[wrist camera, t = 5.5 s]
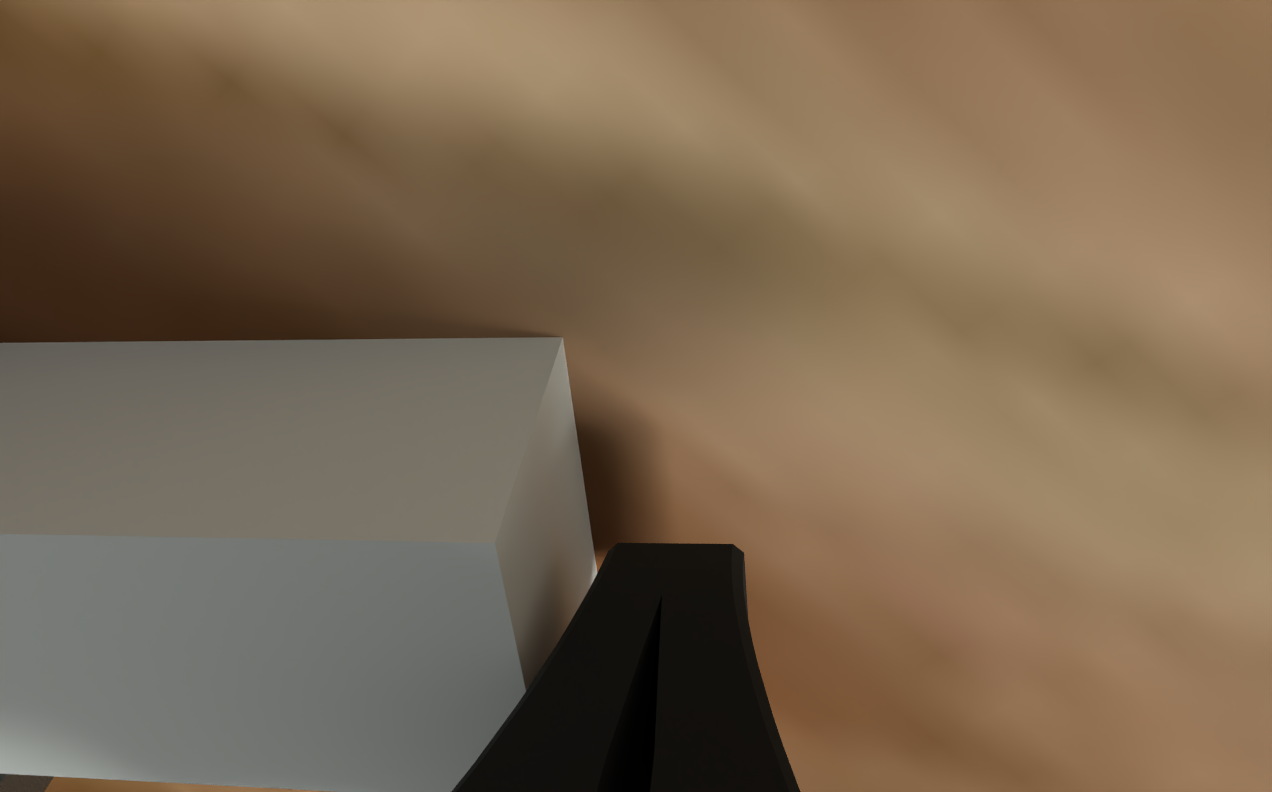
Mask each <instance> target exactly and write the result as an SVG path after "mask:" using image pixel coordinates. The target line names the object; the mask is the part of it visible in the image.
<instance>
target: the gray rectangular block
mask: <svg viewBox="0 0 1272 792" xmlns="http://www.w3.org/2000/svg"><path fill="white" fill-rule="evenodd" d="M596 575H597V568H596V561H595V555H594V548H593V541H592V534H591V527H590V520H589V514H588V507H587V500H586V493H585V486H584V479H583V472H582V466H581V459H580V452H579V445H578V438H577V431H576V425H575V418H574V411H573V404H572V397H571V390H570V384H569V377H568V370H567V363H566V356H565V349H564V343H563V337H536V338H436V339H336V340H236V341H137V342H37V343H0V774H18V775H37V776H56V777H75V778H93V779H112V780H131V781H150V782H168V783H187V784H206V785H225V786H243V787H262V788H281V789H299V790H318V791H337V792H451V791H452V790H453V789H454V788H455V786H456V785H457V784H458V783H459V781H460V780H461V779H462V778H463V776H464V775H465V774H466V773H467V771H468V770H469V769H470V768H471V766H472V765H473V764H474V762H475V761H476V760H477V759H478V757H479V756H480V754H481V753H482V752H483V750H484V749H485V748H486V746H487V745H488V744H489V742H490V741H491V739H492V738H493V737H494V735H495V734H496V733H497V731H498V730H499V729H500V727H501V726H502V725H503V723H504V722H505V720H506V719H507V718H508V716H509V715H510V714H511V712H512V711H513V710H514V708H515V707H516V705H517V704H518V703H519V701H520V700H521V698H522V697H523V695H524V694H525V692H526V691H527V689H528V688H529V686H530V685H531V683H532V682H533V680H534V679H535V677H536V675H537V674H538V672H539V671H540V669H541V668H542V666H543V665H544V663H545V662H546V660H547V659H548V657H549V655H550V654H551V652H552V651H553V649H554V648H555V646H556V645H557V643H558V642H559V640H560V638H561V637H562V635H563V633H564V632H565V630H566V628H567V627H568V625H569V623H570V622H571V620H572V618H573V616H574V615H575V613H576V611H577V610H578V608H579V606H580V604H581V603H582V601H583V599H584V597H585V596H586V594H587V592H588V590H589V588H590V586H591V585H592V583H593V581H594V579H595V577H596Z"/></svg>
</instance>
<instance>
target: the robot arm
mask: <svg viewBox="0 0 1272 792" xmlns="http://www.w3.org/2000/svg"><path fill="white" fill-rule="evenodd" d="M451 792H800V789H799V787H798V784H797V782H796V779H795V776H794V774H793V771H792V768H791V766H790V763H789V760H788V758H787V755H786V752H785V750H784V747H783V744H782V741H781V738H780V735H779V732H778V729H777V726H776V723H775V720H774V717H773V714H772V711H771V708H770V704H769V701H768V697H767V694H766V691H765V687H764V684H763V680H762V677H761V674H760V670H759V667H758V663H757V659H756V655H755V651H754V647H753V642H752V637H751V632H750V627H749V622H748V610H747V594H746V578H745V562H744V553H743V552H742V551H741V550H740V549H738V548H737V547H736V546H735V545H733V544H668V543H617V544H616V545H615V546H614V547H613V548H612V549H610V550H609V551H608V553H607V555H606V557H605V559H604V561H603V563H602V565H601V567H600V569H599V571H598V573H597V575H596V577H595V579H594V581H593V583H592V585H591V586H590V588H589V590H588V592H587V594H586V596H585V597H584V599H583V601H582V603H581V604H580V606H579V608H578V610H577V611H576V613H575V615H574V616H573V618H572V620H571V622H570V623H569V625H568V627H567V628H566V630H565V632H564V633H563V635H562V637H561V638H560V640H559V642H558V643H557V645H556V646H555V648H554V649H553V651H552V652H551V654H550V655H549V657H548V659H547V660H546V662H545V663H544V665H543V666H542V668H541V669H540V671H539V672H538V674H537V675H536V677H535V679H534V680H533V682H532V683H531V685H530V686H529V688H528V689H527V691H526V692H525V694H524V695H523V697H522V698H521V700H520V701H519V703H518V704H517V705H516V707H515V708H514V710H513V711H512V712H511V714H510V715H509V716H508V718H507V719H506V720H505V722H504V723H503V725H502V726H501V727H500V729H499V730H498V731H497V733H496V734H495V735H494V737H493V738H492V739H491V741H490V742H489V744H488V745H487V746H486V748H485V749H484V750H483V752H482V753H481V754H480V756H479V757H478V759H477V760H476V761H475V762H474V764H473V765H472V766H471V768H470V769H469V770H468V771H467V773H466V774H465V775H464V776H463V778H462V779H461V780H460V781H459V783H458V784H457V785H456V786H455V788H454V789H453V790H452V791H451Z"/></svg>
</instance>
